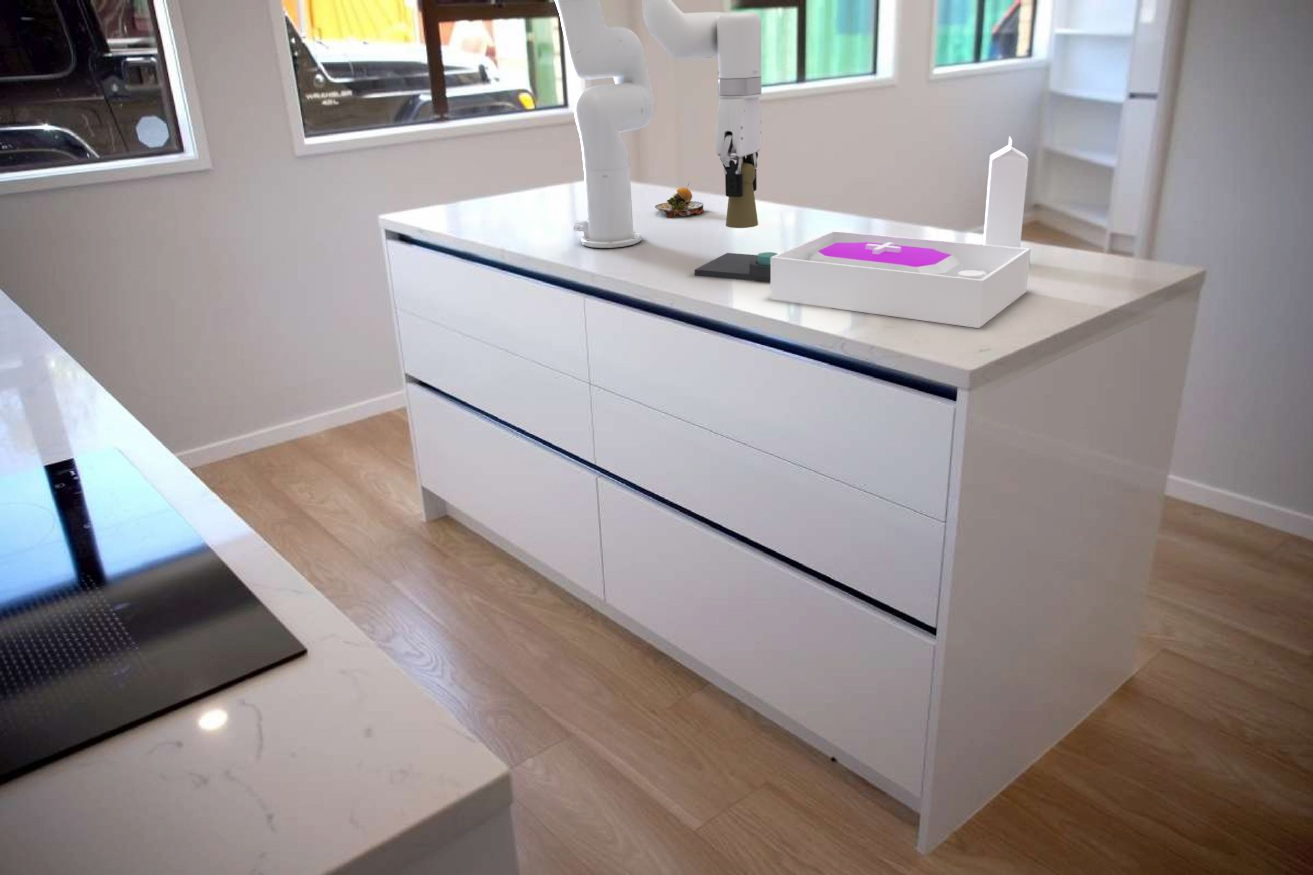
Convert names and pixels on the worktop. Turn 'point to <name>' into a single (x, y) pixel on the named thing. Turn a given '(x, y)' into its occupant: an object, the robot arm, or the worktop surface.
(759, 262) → the button
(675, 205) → the multicoloured piece
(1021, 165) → the milk
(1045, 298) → the worktop surface
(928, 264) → the white tray with pad
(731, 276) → the scale
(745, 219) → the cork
